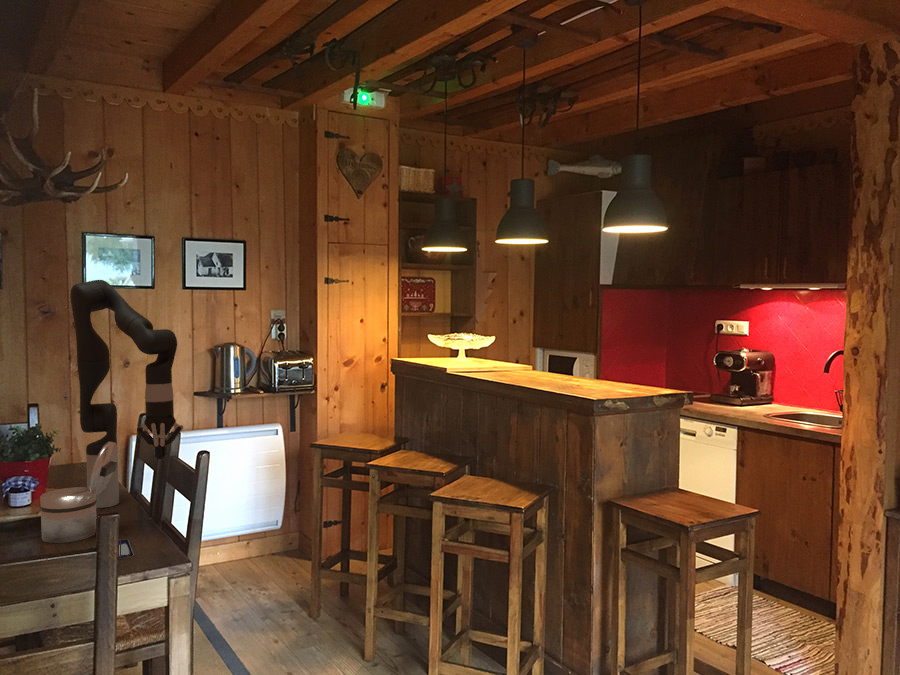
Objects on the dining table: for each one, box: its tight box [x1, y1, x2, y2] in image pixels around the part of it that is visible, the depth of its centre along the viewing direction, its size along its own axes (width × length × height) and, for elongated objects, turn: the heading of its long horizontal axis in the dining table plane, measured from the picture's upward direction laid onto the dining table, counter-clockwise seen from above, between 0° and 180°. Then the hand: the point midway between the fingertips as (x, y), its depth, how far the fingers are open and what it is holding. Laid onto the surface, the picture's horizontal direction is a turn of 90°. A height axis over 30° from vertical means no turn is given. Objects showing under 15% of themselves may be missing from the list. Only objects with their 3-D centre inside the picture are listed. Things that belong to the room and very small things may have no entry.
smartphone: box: [118, 538, 135, 561], centre depth 197 cm, size 7×1×15 cm
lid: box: [89, 442, 119, 495], centre depth 211 cm, size 15×15×3 cm
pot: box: [39, 486, 98, 544], centre depth 210 cm, size 14×14×12 cm
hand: (161, 458), depth 213 cm, fingers closed
